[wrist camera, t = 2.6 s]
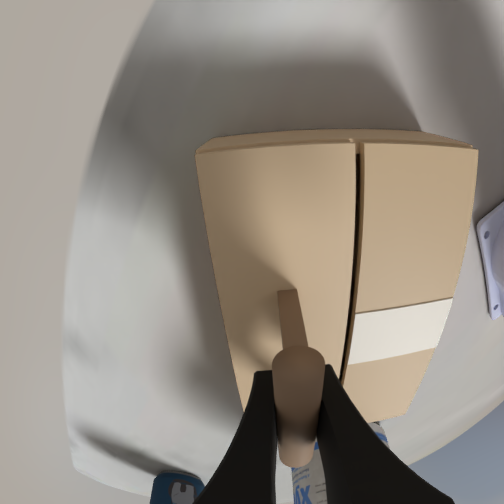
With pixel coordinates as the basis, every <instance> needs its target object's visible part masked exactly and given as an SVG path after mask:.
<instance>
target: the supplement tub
mask: <svg viewBox="0 0 504 504" xmlns="http://www.w3.org/2000/svg"><path fill="white" fill-rule="evenodd" d="M368 425H369V426H370V427H371V428H372V430H373V431H374V432H375V433H376V435H377V436H378V437H379V438H380V439H381V440H382V442H383V443H384V444H385V445H386V446H387V447H388V448H389V445H388V442H387V439H386V435H385V432H384V430H383V429H382V427H380V426H379V425H377V424H376V423H373V422H371V423H368ZM291 469H292V481H293V495H294V504H327V495H326V484H325V476H324V470H323V465H322V461H321V456H320V451H319V447H318V442H317V438H316V440H315V446H314V452H313V457H312V459H311V461H310V462H309V463H308V464H306V465H305V466H302V467H298V468H292V467H291Z"/></svg>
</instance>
